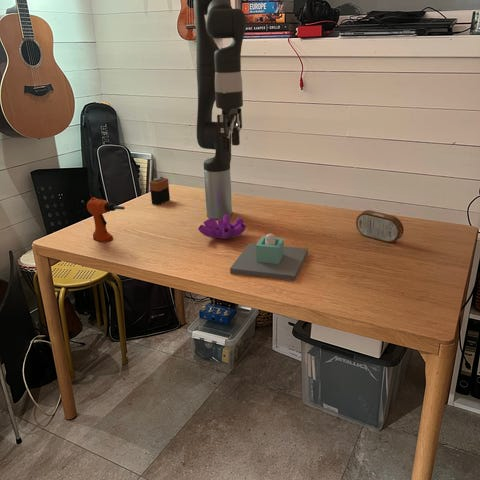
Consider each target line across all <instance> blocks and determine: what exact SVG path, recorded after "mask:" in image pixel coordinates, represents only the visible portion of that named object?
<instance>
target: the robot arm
mask: <svg viewBox="0 0 480 480" xmlns="http://www.w3.org/2000/svg"><path fill="white" fill-rule="evenodd" d="M231 2H232V1H231V0H193V12H194V13H193V14H194V15H193V16H194V25H195V40H196V41H195V43H196V45H195V46H196V49H195V51H196V62H195V63H196V82H197V84H196V85H197V86H196V87H197V112H196V113H197V114H196V115H197V116H196V140H197V141H196V142H197V144H198V146H199V147H200V148H201V149H204V150H205V149H206V150H213V151H214V150H215V155H214V156H212V157H210V158H208V159H206V160H204V161H203V175H204V177H203V178H204V190H205V191H204V193H205V207H206V217H207V218H208V219H210V218H213V217H214V219H215V220H218V219H223V216H224V215H230V217H232V215H233V205H232V204H233V202H232V201H233V200H232V198H233V197H232V180H231V179H232V178H231V163H232V162H231V161H232V146H240V144H241V143H240V142H241V141H240V132H241V129H242V128H243V120H242V119H243V118H242V117H243V115H242V107H243V105H244V98H243V96H244V95H243V91H244V90H243V76H242V65H241V63H242V60H241V58H242V57H241V56H242V55H241V53H242V47H243V41H244V36H245V32H246V28H247V17H246V14H245V13H244V11H243V10H242V9H241V8H233V7H232V3H231ZM214 39H215V40H216V39H217V40H218V39H219V40H220V39H232V41H231V43H230V45H228V46H226V47H222V48H219V46H218V45H217V43H216V41H215V40H214ZM214 104H215V107H216V108H217V109H221V114H217V115H216V121H213V109H214Z"/></svg>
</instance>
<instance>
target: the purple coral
mask: <svg viewBox="0 0 480 480" xmlns="http://www.w3.org/2000/svg"><path fill="white" fill-rule="evenodd" d="M244 223H245V220H244V219H243V218H241V217H237V218H236V220H235V221H233V223H231V216H230V215H224V216H223V219H217V221H216V219H214V217H213V218H208V219H207V220H204V221H203V224H200V225H199V226H198V228H197V229H198V231H199V233H201V234H202V235H203V236H205V237H208V238H213V239H222V240H224V239H230V238H235V237H238V236H240V235H241V234H243V233H245V232H244V231H246V228H247V226H246V224H244Z"/></svg>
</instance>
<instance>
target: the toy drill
mask: <svg viewBox="0 0 480 480" xmlns="http://www.w3.org/2000/svg"><path fill="white" fill-rule="evenodd" d="M125 208H126V207H124V206H122V205H121V206H120V205H116V203H112V202H110V201H108V200H106V199H105V200H104V199H100V198H96V197H91V198H90V200H89V201H88V202H87V203H86V209H87V211H88V212H89V214H91V215H92V217H93V221H94V228H95V230H94V231H93V232H92V239H93V240H95V241H97V242H101V243H105V242H110V241H112V240H113V239H114V236H113V235H112V233H110V232H108V230H107V224H108V223H107V221H106V219H105V217H104V215H103V214H107V213H110V212H114V211H116V210H125Z"/></svg>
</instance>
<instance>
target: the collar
mask: <svg viewBox="0 0 480 480" xmlns="http://www.w3.org/2000/svg"><path fill="white" fill-rule="evenodd" d="M265 237H266V236H261V237H260V239H259V240H258V242H257V243H256V262H264V263H273V264H279V262H280V261H281V259H282V257H283V255H284V246H285V238H281V237H280V238H279V237H275V246H274V245H265Z"/></svg>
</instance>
